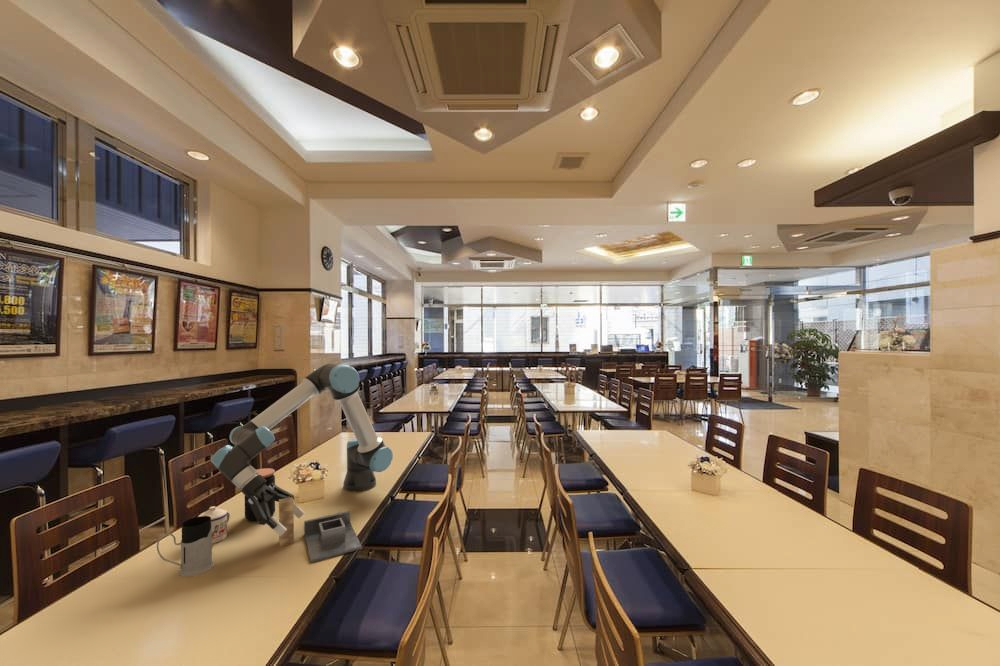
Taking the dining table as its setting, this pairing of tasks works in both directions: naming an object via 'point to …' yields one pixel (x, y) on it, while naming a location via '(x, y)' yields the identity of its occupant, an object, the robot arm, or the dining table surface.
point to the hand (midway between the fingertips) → (293, 524)
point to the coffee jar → (249, 514)
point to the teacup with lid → (218, 523)
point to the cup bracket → (330, 536)
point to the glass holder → (194, 546)
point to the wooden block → (286, 520)
